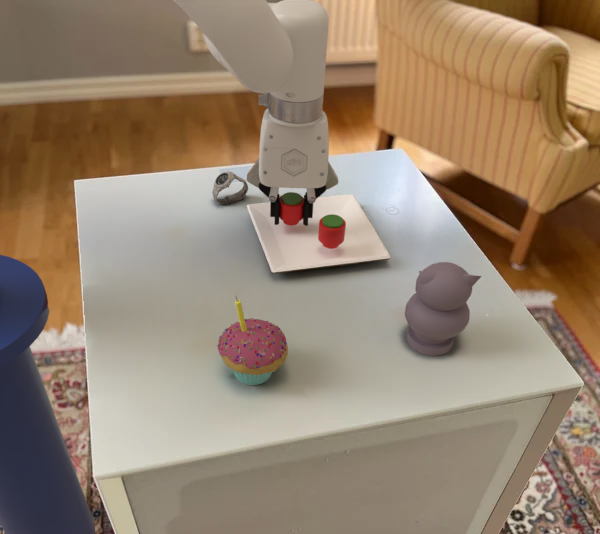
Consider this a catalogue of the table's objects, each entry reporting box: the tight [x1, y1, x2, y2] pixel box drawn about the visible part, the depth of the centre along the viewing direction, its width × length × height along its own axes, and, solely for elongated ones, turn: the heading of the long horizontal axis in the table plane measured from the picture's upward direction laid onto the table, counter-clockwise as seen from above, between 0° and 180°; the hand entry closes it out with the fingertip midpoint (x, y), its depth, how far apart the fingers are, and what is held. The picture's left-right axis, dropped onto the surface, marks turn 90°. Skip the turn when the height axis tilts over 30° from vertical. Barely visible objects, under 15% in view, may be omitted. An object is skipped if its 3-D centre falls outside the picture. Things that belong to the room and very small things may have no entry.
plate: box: [246, 193, 392, 274], centre depth 101 cm, size 19×19×2 cm
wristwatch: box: [211, 171, 249, 206], centre depth 107 cm, size 4×6×5 cm, turn 118°
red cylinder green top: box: [318, 214, 346, 249], centre depth 96 cm, size 4×4×4 cm
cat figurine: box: [404, 261, 482, 357], centre depth 83 cm, size 8×8×12 cm
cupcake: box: [217, 295, 289, 386], centre depth 77 cm, size 9×8×12 cm
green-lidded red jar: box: [279, 191, 304, 226], centre depth 100 cm, size 4×4×4 cm
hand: (291, 219), depth 102 cm, fingers closed on green-lidded red jar, 4 cm apart
